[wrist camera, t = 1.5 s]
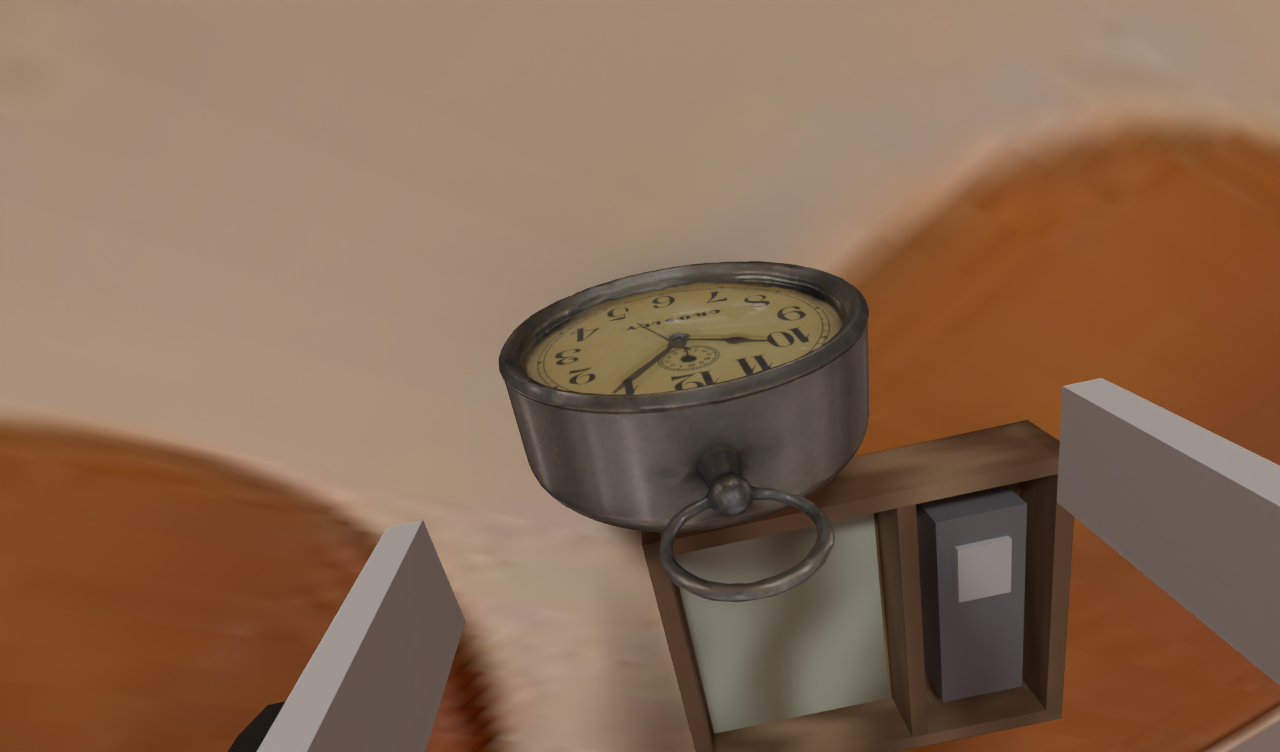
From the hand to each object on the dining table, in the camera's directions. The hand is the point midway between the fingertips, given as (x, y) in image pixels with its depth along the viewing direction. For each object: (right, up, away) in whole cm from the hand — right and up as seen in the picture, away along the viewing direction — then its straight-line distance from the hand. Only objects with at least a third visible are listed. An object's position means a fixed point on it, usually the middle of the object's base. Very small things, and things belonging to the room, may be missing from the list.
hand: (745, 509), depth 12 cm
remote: (+14, -8, +18) cm, 24 cm away
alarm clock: (-1, +5, +13) cm, 14 cm away
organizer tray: (+8, -8, +19) cm, 22 cm away
